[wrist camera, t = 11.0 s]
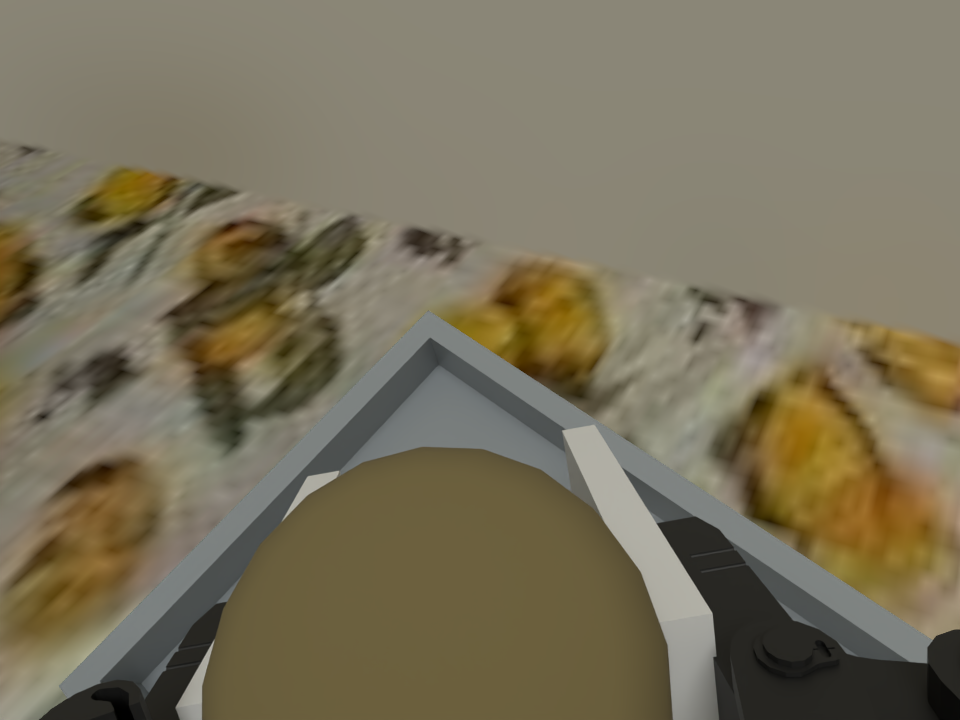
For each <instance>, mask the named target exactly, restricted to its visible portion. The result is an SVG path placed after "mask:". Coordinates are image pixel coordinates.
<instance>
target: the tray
mask: <svg viewBox="0 0 960 720" xmlns="http://www.w3.org/2000/svg"><path fill="white" fill-rule="evenodd" d="M590 425H595V426H596V428H597V429H598V431H599V433H600V434H601V436H602V437H603V439H604V441H605V442H606V444H607V445H608V447H609V449H610V450H611V452H612V453H613V455H614V457H615V458H616V460H617V461H618V463H619V465H620V466H621V468H622V469H623V471H624V473H625V474H626V476H627V477H628V479H629V481H630V482H631V484H632V485H633V487H634V489H635V490H636V492H637V493H638V495H639V497H640V498H641V500H642V501H643V503H644V505H645V506H646V508H647V509H648V511H649V513H650V514H651V516H652V517H653V519H654V520H655V522H656V523H661V522H666V521H672V520H677V519H683V518H689V517H694V516H696V517H698V518H700V519H702V520H703V521H705V522H707V523H709V524H711V525H713V526H714V527H716V528H718V529H719V530H720V531H721V532H722V533H723V534H724V536H725V537H726V538H727V539H728V541H729V542H730V543H731V544H732V546H733V547H734V550H735V551H736V550H737V552H738V553H739V554H740V555H741V557H742V558H743V559H744V560H745V562H746V565H747V566H749V567H750V568H751V569H752V570H753V571H754V573H755V574H756V575H757V576H758V578H759V579H760V580H761V581H762V583H763V584H764V585H765V586H766V587H767V589H768V590H769V591H770V592H771V594H772V595H773V596H774V597H775V599H776V600H777V601H778V602H779V604H780V605H781V606H782V607H783V608H784V610H785V611H786V612H787V613H788V615H789V616H790V617H791V618H792V620H793V621H798V622H801V623H803V624H806V625H809V626H812V627H814V628H817V629H819V630H821V631H822V632H824V633H825V634H827V635H828V636H830V637H831V638H833V639H834V640H836V641H837V642H838V643H839V645H840V646H841V647H842V649H843V650H844V651H845V652H846V654H850V655H853V656H857V657H863V658H870V659H877V660H890V661H903V662H917V663H927V647H928V646H929V645H930V643H931V642H932V641H933V640H931V639H930V638H928V637H927V636H925V635H924V634H922V633H921V632H919V631H918V630H916V629H915V628H913V627H912V626H910V625H909V624H907V623H905V622H904V621H902V620H901V619H899V618H898V617H896V616H895V615H893V614H892V613H890V612H889V611H887V610H886V609H884V608H883V607H881V606H879V605H878V604H876V603H875V602H873V601H872V600H870V599H869V598H867V597H866V596H864V595H863V594H861V593H860V592H858V591H857V590H855V589H853V588H852V587H850V586H849V585H847V584H846V583H844V582H843V581H841V580H840V579H838V578H837V577H835V576H834V575H832V574H831V573H829V572H827V571H826V570H824V569H823V568H821V567H820V566H818V565H817V564H815V563H814V562H812V561H811V560H809V559H808V558H806V557H805V556H803V555H802V554H800V553H798V552H797V551H795V550H794V549H792V548H791V547H789V546H788V545H786V544H785V543H783V542H782V541H780V540H779V539H777V538H776V537H774V536H772V535H771V534H769V533H768V532H766V531H765V530H763V529H762V528H760V527H759V526H757V525H756V524H754V523H753V522H751V521H750V520H748V519H746V518H745V517H743V516H742V515H740V514H739V513H737V512H736V511H734V510H733V509H731V508H730V507H728V506H727V505H725V504H724V503H722V502H720V501H719V500H717V499H716V498H714V497H713V496H711V495H710V494H708V493H707V492H705V491H704V490H702V489H701V488H699V487H698V486H696V485H694V484H693V483H691V482H690V481H688V480H687V479H685V478H684V477H682V476H681V475H679V474H678V473H676V472H675V471H673V470H672V469H670V468H668V467H667V466H665V465H664V464H662V463H661V462H659V461H658V460H656V459H655V458H653V457H652V456H650V455H649V454H647V453H646V452H644V451H642V450H641V449H639V448H638V447H636V446H635V445H633V444H632V443H630V442H629V441H627V440H626V439H624V438H623V437H621V436H620V435H618V434H616V433H615V432H613V431H612V430H610V429H609V428H607V427H606V426H604V425H603V424H601V423H600V422H598V421H597V420H595V419H594V418H592V417H590V416H589V415H587V414H586V413H584V412H583V411H581V410H580V409H578V408H577V407H575V406H574V405H572V404H571V403H569V402H568V401H566V400H564V399H563V398H561V397H560V396H558V395H557V394H555V393H554V392H552V391H551V390H549V389H548V388H546V387H545V386H543V385H542V384H540V383H538V382H537V381H535V380H534V379H532V378H531V377H529V376H528V375H526V374H525V373H523V372H522V371H520V370H519V369H517V368H516V367H514V366H512V365H511V364H509V363H508V362H506V361H505V360H503V359H502V358H500V357H499V356H497V355H496V354H494V353H493V352H491V351H490V350H488V349H486V348H485V347H483V346H482V345H480V344H479V343H477V342H476V341H474V340H473V339H471V338H470V337H468V336H467V335H465V334H464V333H462V332H460V331H459V330H457V329H456V328H454V327H453V326H451V325H450V324H448V323H447V322H445V321H444V320H442V319H441V318H439V317H438V316H436V315H434V314H433V313H431V312H430V311H427V312H426V313H425V314H424V315H423V316H422V317H421V318H420V319H419V320H418V321H417V322H416V323H415V324H414V325H413V326H412V328H411V329H410V330H409V331H408V332H407V333H406V334H405V335H404V336H403V337H402V338H401V339H400V340H399V341H398V342H397V343H396V344H395V345H394V346H393V347H392V348H391V349H390V350H389V351H388V352H387V353H386V354H385V355H384V356H383V357H382V358H381V359H380V360H379V361H378V362H377V363H376V364H375V365H374V366H373V367H372V368H371V369H370V370H369V371H368V372H367V373H366V374H365V375H364V376H363V377H362V378H361V379H360V380H359V381H358V382H357V383H356V384H355V385H354V386H353V387H352V388H351V390H350V391H349V392H348V393H347V394H346V395H345V396H344V397H343V398H342V399H341V400H340V401H339V402H338V403H337V404H336V405H335V406H334V407H333V408H332V409H331V410H330V411H329V412H328V413H327V414H326V415H325V416H324V417H323V418H322V419H321V420H320V421H319V422H318V423H317V424H316V425H315V426H314V427H313V428H312V429H311V430H310V431H309V432H308V433H307V434H306V435H305V436H304V437H303V438H302V439H301V440H300V441H299V442H298V443H297V444H296V445H295V446H294V447H293V448H292V449H291V450H290V452H289V453H288V454H287V455H286V456H285V457H284V458H283V459H282V460H281V461H280V462H279V463H278V464H277V465H276V466H275V467H274V468H273V469H272V470H271V471H270V472H269V473H268V474H267V475H266V476H265V477H264V478H263V479H262V480H261V481H260V482H259V483H258V484H257V485H256V486H255V487H254V488H253V489H252V490H251V491H250V492H249V493H248V494H247V495H246V496H245V497H244V498H243V499H242V500H241V501H240V502H239V503H238V504H237V505H236V506H235V507H234V508H233V509H232V510H231V511H230V513H229V514H228V515H227V516H226V517H225V518H224V519H223V520H222V521H221V522H220V523H219V524H218V525H217V526H216V527H215V528H214V529H213V530H212V531H211V532H210V533H209V534H208V535H207V536H206V537H205V538H204V539H203V540H202V541H201V542H200V543H199V544H198V545H197V546H196V547H195V548H194V549H193V550H192V551H191V552H190V553H189V554H188V555H187V556H186V557H185V558H184V559H183V560H182V561H181V562H180V563H179V564H178V565H177V566H176V567H175V568H174V569H173V570H172V571H171V572H170V573H169V575H168V576H167V577H166V578H165V579H164V580H163V581H162V582H161V583H160V584H159V585H158V586H157V587H156V588H155V589H154V590H153V591H152V592H151V593H150V594H149V595H148V596H147V597H146V598H145V599H144V600H143V601H142V602H141V603H140V604H139V605H138V606H137V607H136V608H135V609H134V610H133V611H132V612H131V613H130V614H129V615H128V616H127V617H126V618H125V619H124V620H123V621H122V622H121V623H120V624H119V625H118V626H117V627H116V628H115V629H114V630H113V631H112V632H111V633H110V634H109V635H108V637H107V638H106V639H105V640H104V641H103V642H102V643H101V644H100V645H99V646H98V647H97V648H96V649H95V650H94V651H93V652H92V653H91V654H90V655H89V656H88V657H87V658H86V659H85V660H84V661H83V662H82V663H81V664H80V665H79V666H78V667H77V668H76V669H75V670H74V671H73V672H72V673H71V674H70V675H69V676H68V677H67V678H66V679H65V680H64V681H63V682H62V683H61V684H60V685H59V687H60V688H61V690H62V691H63V693H64V694H65V696H66V697H67V699H68V698H69V697H71V696H73V695H74V694H76V693H78V692H81V691H83V690H85V689H87V688H90V687H92V686H94V685H97V684H100V683H105V682H109V681H114V680H125V681H133V682H134V683H135V684H136V685H137V686H138V687H139V688H140V689H141V692H142V695H143V697H144V700H145V698H146V697H147V695H148V694H149V692H150V690H151V689H152V687H153V686H154V684H155V683H156V681H157V680H158V678H159V676H160V675H161V673H162V672H163V671H166V666H167V664H168V662H169V661H170V659H171V658H172V656H173V655H174V653H175V652H178V647H179V645H180V644H181V642H182V641H183V639H184V638H185V636H186V634H187V633H188V631H189V630H190V628H191V627H192V625H193V624H194V623H195V622H196V621H197V620H199V619H200V618H201V617H202V616H203V615H204V614H205V613H206V612H207V611H209V610H210V609H211V608H212V607H213V606H214V605H215V604H217V603H223V602H227V601H228V599H229V598H230V596H231V594H232V592H233V591H234V589H235V587H236V585H237V584H238V582H239V580H240V578H241V576H242V575H243V573H244V571H245V569H246V568H247V566H248V564H249V562H250V561H251V559H252V557H253V555H254V554H255V552H256V550H257V548H258V547H259V545H260V544H261V543H262V542H263V541H264V540H265V538H266V537H267V536H268V535H269V534H270V533H271V532H272V531H273V530H274V529H275V528H276V527H277V526H278V525H279V524H280V523H281V522H282V520H283V518H284V517H285V515H286V513H287V511H288V510H289V508H290V506H291V504H292V503H293V501H294V499H295V497H296V496H297V494H298V492H299V490H300V489H301V487H302V485H303V483H304V482H305V480H306V478H307V476H312V475H318V474H323V473H329V472H334V471H340V474H341V475H342V474H344V473H346V472H347V471H349V470H351V469H352V468H354V467H356V466H357V465H359V464H361V463H362V462H366V461H370V460H373V459H377V458H381V457H385V456H388V455H392V454H396V453H400V452H404V451H407V450H411V449H415V448H419V447H445V448H473V449H484V450H487V451H490V452H493V453H496V454H498V455H501V456H504V457H507V458H510V459H513V460H515V461H518V462H521V463H524V464H527V465H530V466H532V467H535V468H538V469H541V470H542V471H544V472H545V473H546V474H548V475H549V476H550V477H552V478H553V479H554V480H556V481H557V482H558V483H560V484H561V485H562V486H564V487H565V488H566V489H568V490H569V491H570V492H571V486H570V479H569V473H568V466H567V460H566V453H565V447H564V440H563V434H562V430H568V429H573V428H579V427H584V426H590Z"/></svg>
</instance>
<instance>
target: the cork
mask: <svg viewBox="0 0 960 720" xmlns="http://www.w3.org/2000/svg"><path fill="white" fill-rule="evenodd" d="M202 720H673V713H672V699H671V685H670V671H669V657H668V645H667V642H666V639H665V637H664V634H663V631H662V629H661V626H660V623H659V620H658V618H657V615H656V612H655V609H654V607H653V604H652V601H651V599H650V596H649V593H648V590H647V588H646V585H645V582H644V579H643V577H642V574H641V571H640V570H639V569H638V567H637V566H636V565H635V563H634V562H633V561H632V559H631V558H630V557H629V555H628V554H627V552H626V551H625V550H624V548H623V547H622V546H621V544H620V543H619V542H618V540H617V539H616V538H615V536H614V535H613V533H612V532H611V531H610V529H609V528H608V527H607V525H606V524H605V523H604V521H603V520H602V519H601V517H600V516H599V514H598V513H597V512H596V511H595V510H594V509H593V508H592V507H591V506H589V505H588V504H586V503H585V502H584V501H582V500H581V499H580V498H578V497H577V496H576V495H574V494H573V493H572V492H570V491H569V490H568V489H566V488H565V487H564V486H562V485H561V484H560V483H558V482H557V481H556V480H554V479H553V478H552V477H550V476H549V475H548V474H546V473H545V472H544V471H542V470H541V469H538V468H535V467H532V466H530V465H527V464H524V463H521V462H518V461H515V460H513V459H510V458H507V457H504V456H501V455H498V454H496V453H493V452H490V451H487V450H484V449H473V448H445V447H419V448H415V449H411V450H407V451H404V452H400V453H396V454H392V455H388V456H385V457H381V458H377V459H373V460H370V461H366V462H362V463H361V464H359V465H357V466H356V467H354V468H352V469H351V470H349V471H347V472H346V473H344V474H342V475H341V476H339V477H337V478H335V479H334V480H332V481H330V482H329V483H327V484H325V485H324V486H322V487H320V488H319V489H317V490H315V491H314V492H312V493H310V494H309V495H307V496H306V497H305V498H304V499H303V500H302V501H301V502H300V503H299V504H298V505H297V507H296V508H295V509H294V510H293V511H292V512H291V513H290V514H289V515H288V516H287V517H286V518H285V519H284V520H283V521H282V522H281V523H280V524H279V525H278V526H277V527H276V528H275V529H274V530H273V531H272V532H271V533H270V534H269V535H268V536H267V537H266V538H265V540H264V541H263V542H262V543H261V544H260V545H259V547H258V548H257V550H256V552H255V554H254V555H253V557H252V559H251V561H250V562H249V564H248V566H247V568H246V569H245V571H244V573H243V575H242V576H241V578H240V580H239V582H238V584H237V585H236V587H235V589H234V591H233V592H232V594H231V596H230V598H229V599H228V601H227V603H226V605H225V606H224V608H223V611H222V615H221V618H220V622H219V626H218V629H217V633H216V637H215V640H214V644H213V648H212V651H211V655H210V659H209V662H208V666H207V670H206V673H205V677H204V681H203V684H202Z"/></svg>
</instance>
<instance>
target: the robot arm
mask: <svg viewBox="0 0 960 720" xmlns="http://www.w3.org/2000/svg"><path fill="white" fill-rule="evenodd" d="M562 434H563V440H564V447H565V453H566V460H567V466H568V473H569V479H570V486H571V492H572V493H573V494H574V495H576V496H577V497H578V498H580V499H581V500H582V501H584V502H585V503H586V504H588V505H589V506H591V507H592V508H593V509H594V510H595V511H596V512H597V513H598V514H599V516H600V517H601V519H602V520H603V521H604V523H605V524H606V525H607V527H608V528H609V529H610V531H611V532H612V533H613V535H614V536H615V538H616V539H617V540H618V542H619V543H620V544H621V546H622V547H623V548H624V550H625V551H626V552H627V554H628V555H629V557H630V558H631V559H632V561H633V562H634V563H635V565H636V566H637V567H638V569H639V570H640V571H641V574H642V577H643V579H644V582H645V585H646V588H647V590H648V593H649V596H650V599H651V601H652V604H653V607H654V609H655V612H656V615H657V618H658V620H659V623H660V626H661V629H662V631H663V634H664V637H665V639H666V642H667V645H668V657H669V671H670V685H671V699H672V713H673V720H960V630H952V631H949V632H946V633H943V634H940V635H938V636H936V637H935V638H934V640H933V641H932V642H931V643H930V645H929V646H928V647H927V663H917V662H903V661H890V660H877V659H870V658H863V657H857V656H853V655H850V654H846V652H845V651H844V650H843V649H842V647H841V646H840V645H839V643H838V642H837V641H836V640H834V639H833V638H831V637H830V636H828V635H827V634H825V633H824V632H822V631H821V630H819V629H817V628H814V627H812V626H809V625H806V624H803V623H801V622H798V621H793V620H792V618H791V617H790V616H789V615H788V613H787V612H786V611H785V610H784V608H783V607H782V606H781V605H780V604H779V602H778V601H777V600H776V599H775V597H774V596H773V595H772V594H771V592H770V591H769V590H768V589H767V587H766V586H765V585H764V584H763V583H762V581H761V580H760V579H759V578H758V576H757V575H756V574H755V573H754V571H753V570H752V569H751V568H750V567H749V566H747V565H746V562H745V560H744V559H743V558H742V557H741V555H740V554H739V553H738V552H737V550H736V551H735V550H734V547H733V546H732V544H731V543H730V542H729V541H728V539H727V538H726V537H725V536H724V534H723V533H722V532H721V531H720V530H719V529H718V528H716V527H714V526H713V525H711V524H709V523H707V522H705V521H703V520H702V519H700V518H698V517H696V516H694V517H689V518H683V519H677V520H672V521H666V522H661V523H656V522H655V520H654V519H653V517H652V516H651V514H650V513H649V511H648V509H647V508H646V506H645V505H644V503H643V501H642V500H641V498H640V497H639V495H638V493H637V492H636V490H635V489H634V487H633V485H632V484H631V482H630V481H629V479H628V477H627V476H626V474H625V473H624V471H623V469H622V468H621V466H620V465H619V463H618V461H617V460H616V458H615V457H614V455H613V453H612V452H611V450H610V449H609V447H608V445H607V444H606V442H605V441H604V439H603V437H602V436H601V434H600V433H599V431H598V429H597V428H596V426H595V425H590V426H584V427H579V428H573V429H568V430H562ZM339 476H341V474H340V471H334V472H329V473H323V474H318V475H312V476H307V478H306V480H305V482H304V483H303V485H302V487H301V489H300V490H299V492H298V494H297V496H296V497H295V499H294V501H293V503H292V504H291V506H290V508H289V510H288V511H287V513H286V515H285V517H284V518H283V520H284V519H285V518H286V517H287V516H288V515H289V514H290V513H291V512H292V511H293V510H294V509H295V508H296V507H297V505H298V504H299V503H300V502H301V501H302V500H303V499H304V498H305V497H306V496H307V495H309V494H310V493H312V492H314V491H315V490H317V489H319V488H320V487H322V486H324V485H325V484H327V483H329V482H330V481H332V480H334V479H335V478H337V477H339ZM283 520H282V521H283ZM226 603H227V602H223V603H217V604H215V605H214V606H213V607H212V608H211V609H210V610H209V611H207V612H206V613H205V614H204V615H203V616H202V617H201V618H200V619H199V620H197V621H196V622H195V623H194V624H193V625H192V627H191V628H190V630H189V631H188V633H187V634H186V636H185V638H184V639H183V641H182V642H181V644H180V645H179V647H178V652H175V653H174V655H173V656H172V658H171V659H170V661H169V662H168V664H167V666H166V671H163V672H162V673H161V675H160V676H159V678H158V680H157V681H156V683H155V684H154V686H153V687H152V689H151V690H150V692H149V694H148V695H147V697H146V698H145V700H144V697H143V695H142V692H141V689H140V688H139V687H138V686H137V685H136V684H135V683H134V682H133V681H125V680H114V681H109V682H105V683H100V684H97V685H94V686H92V687H90V688H87V689H85V690H83V691H81V692H78V693H76V694H74V695H73V696H71V697H69V698H68V699H66V700H65V701H63V702H61V703H60V704H58V705H57V706H55V707H54V708H52V709H51V710H50V711H49V712H47V713H46V714H45V715H44V716H43V717H42V718H41V719H39V720H202V684H203V681H204V677H205V673H206V670H207V666H208V662H209V659H210V655H211V651H212V648H213V644H214V640H215V637H216V633H217V629H218V626H219V622H220V618H221V615H222V611H223V608H224V606H225V605H226Z"/></svg>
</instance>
